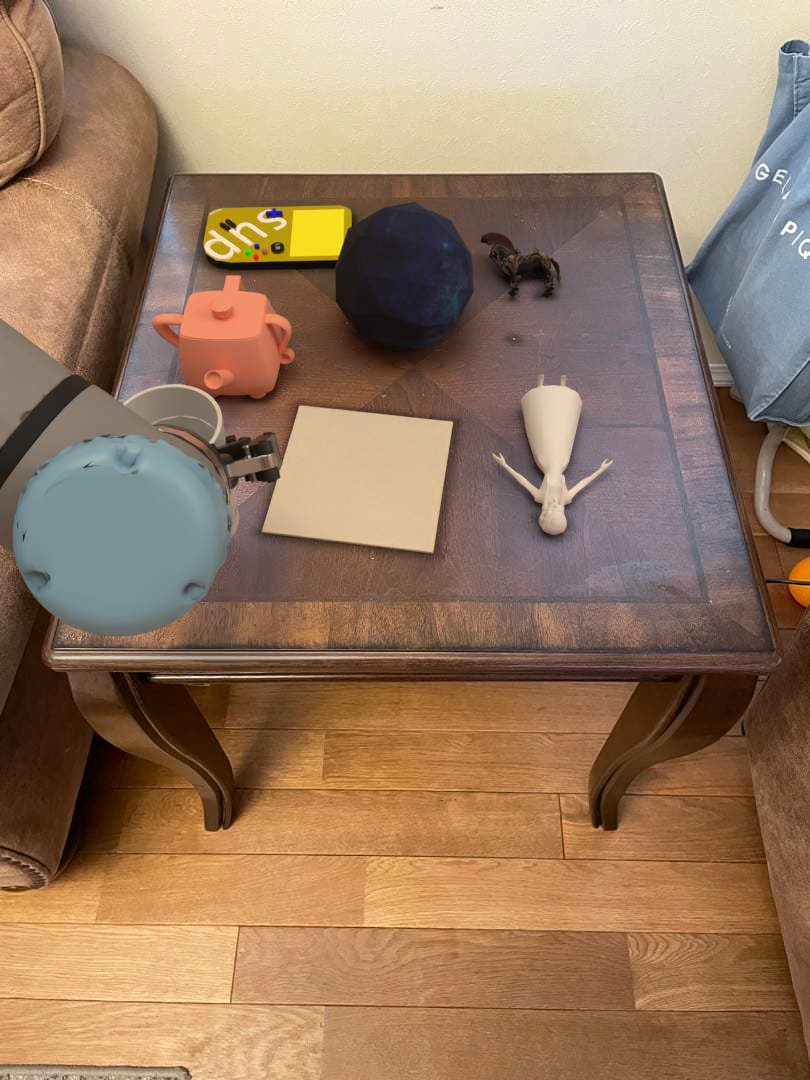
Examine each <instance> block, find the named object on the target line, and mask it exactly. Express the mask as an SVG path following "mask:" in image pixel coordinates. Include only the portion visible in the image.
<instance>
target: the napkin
mask: <svg viewBox="0 0 810 1080" xmlns="http://www.w3.org/2000/svg"><path fill="white" fill-rule="evenodd" d="M453 426H454V421H451V420H440V419H431V418H422V417H412V416H404V415H403V416H402V415H395V414H394V415H393V414H384V413H374V412H365V411H356V410H347V409H346V410H345V409H337V408H327V407H321V406H319V407H318V406H311V405H301V404H300V405H299V406H298V409H297V412H296V415H295V419H294V423H293V426H292V429H291V431H290V435H289V440H288V443H287V446H286V449H285V453H284V455H283V459H282V464H283V465H282V466H281V467H280V469H279V473H280V478H279V479H277V480H276V481H275V482H276V483H275V486H274V490H273V492H272V496H271V500H270V502H269V503H270V504H269V506H268V510H267V514H266V516H265V520H264V523H263V526H262V529H261V533H262V534H267V535H273V536H274V535H277V536H284V537H291V538H299V539H308V540H315V541H323V542H334V543H341V544H348V545H349V544H350V545H358V546H365V547H375V548H383V549H390V550H398V551H407V552H414V553H422V554H432V555H433V554H434V550H435V545H436V537H437V531H438V524H439V519H440V513H441V512H440V511H441V505H442V500H443V499H442V498H443V492H444V486H445V485H444V484H445V479H446V472H447V467H448V466H447V465H448V459H449V453H450V446H451V439H452V434H453V433H452V432H453Z"/></svg>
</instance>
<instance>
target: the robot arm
mask: <svg viewBox="0 0 810 1080" xmlns="http://www.w3.org/2000/svg"><path fill="white" fill-rule="evenodd" d="M225 441H226V444H225V445H222V446H219V447H216V446H215V444H213V443H211V444H210V443H209V442H208V441H207V440H205V439H204V438H203V437H201V436H200V435H198V434H197V433H195V432H193V431H191V430H188V429H186V428H183V427H180V426H175V425H169V424H154V425H151V424H150V423H149V422H147V421H146V420H144V419H143V418H142V417H140V416H139V415H137V414H136V413H135V412H133V411H132V410H130V409H129V408H128V407H126V406H125V405H123V403H122V402H121V401H120V400H118V399H117V398H115V397H113V396H112V395H111V394H110V393H108V392H107V391H105V390H103V388H100V387H99V386H97V385H96V384H92V383H91V382H90V381H88V380H87V379H85V378H84V377H83V376H81V375H80V374H77V373H74V372H73V371H72V370H70V369H69V368H67V367H66V366H65V365H64V364H62V363H61V362H60V361H58V360H57V359H56V358H55V357H53V356H52V355H50V354H49V353H48V352H47V351H45V350H43V349H42V348H41V347H39V346H38V345H37V344H36V343H34V342H33V341H32V340H30V339H29V338H27V337H26V336H25V335H23V334H22V333H21V332H19V331H18V330H17V329H16V328H15V327H13V326H12V325H10V324H9V323H8V322H6V321H5V320H4V319H2V318H1V317H0V546H1V547H2V548H4V549H6V550H7V551H9V552H11V553H12V554H13V556H14V559H15V563H16V566H17V570H18V572H19V573H20V575H21V577H22V579H23V580H24V583H25V585H26V586H27V588H28V589H29V591H30V593H31V594H32V596H33V597H34V599H35V600H36V601H37V602H38V603H39V604H40V605H41V606H42V607H43V608H44V609H45V610H46V611H47V612H49V613H50V614H51V615H53V616H54V617H55V618H57V619H58V620H60V621H61V622H64V623H65V624H67V625H69V626H72V627H74V628H75V629H78V630H81V631H83V632H86V633H89V634H94V635H98V636H104V637H115V638H116V637H132V636H138V635H143V634H147V633H151V632H155V631H157V630H159V629H162V628H165V627H167V626H169V625H171V624H172V623H175V622H176V621H179V619H181V618H183V617H185V616H186V615H187V614H188V613H189V612H190V611H192V609H194V608H195V607H196V606H197V605H198V604H199V603H200V601H202V600H203V598H205V597H206V595H207V594H208V593H209V590H210V588H211V586H212V584H213V582H214V580H215V578H216V576H217V574H218V571H220V569H221V568H222V566H223V565H224V564H225V562H226V560H227V557H228V546H230V545H231V543H232V537H231V529H232V521H231V512H230V507H229V504H230V489H233V490H234V488H236V487H237V485H238V484H239V481H240V479H241V478H244V482H245V483H248V482H250V483H252V484H253V483H254V484H255V483H259V482H261V483H267V484H270V483H275V482H276V481H277V479H279V478H280V473H279V472H280V469H281V466H282V465H283V464H282V462H283V459H282V455H281V452H280V448H279V444H278V439H277V435H276V432H273V431H264V432H263V433H262V434H261V435H259V436H256V437H255V438H254V439H252V437H250V436H242V437H239V438H238V439H237V437H236V434H231V435H225Z"/></svg>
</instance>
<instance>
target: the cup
mask: <svg viewBox="0 0 810 1080" xmlns="http://www.w3.org/2000/svg"><path fill="white" fill-rule="evenodd" d="M122 404H123V405H125V406H126V407H128V408H129V409H130V410H132V411H133V412H135V413H136V414H137V415H139V416H140V417H142V418H143V419H144V420H146V421H147V422H149V423H150V424H151V425H154V424H169V425H175V426H180V427H183V428H186V429H188V430H191V431H193V432H195V433H197V434H198V435H200V436H201V437H203V438H204V439H205V440H207V441H208V442H209V443H210V444H211V443H213V444H215V446H216V447H219V446H222V445H225V444H226V441H225V438H226V434H225V427H224V421H223V414H222V410H221V408H220V406H219V404H218V402H217V401H216V400H215V398H214V397H213V398H212V397H211V396H210V395H209V394H207V393H206V392H204V391H202V390H200V389H198V388H195V387H192V386H188V385H187V384H180V383H178V384H177V383H171V384H169V383H168V384H162V385H157V386H156V385H155V386H152V387H149V388H146V389H144V390H141V391H139V392H137V393H136V394H134V395H132V396H130V397H128V399H126V400H125V401H124V402H123V403H122ZM229 507H230V512H231V521H232V529H231V538H233V537H234V535H235V533H236V531H237V529H238V527H239V523H240V514H239V510H238V506H237V503H236V497H235V489H234V488H233V489H230V504H229Z"/></svg>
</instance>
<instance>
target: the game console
mask: <svg viewBox="0 0 810 1080" xmlns="http://www.w3.org/2000/svg"><path fill="white" fill-rule="evenodd" d="M351 226H353V212H352V210H351V209H350V208H349V207H347V206H345V205H297V206H296V205H295V206H292V205H291V206H255V207H251V206H249V207H248V206H247V207H222V208H221V207H220V208H217V209H213V210H211V211H210V212H209V213H208V215H207V220H206V226H205V232H204V238H203V242H202V244H203V245H202V246H203V249H204V252H205V257H206V261H207V262H208V263H209V264H210V265H212V266H214V267H215V268H217V269H222V270H227V271H258V270H259V271H260V270H261V271H262V270H263V271H264V270H305V269H307V270H308V269H335V266H336V263H337V260H338V257H339V254H340V251H341V248H342V245H343V242H344V239H345V236H346V233H347V230H348V228H350V227H351Z"/></svg>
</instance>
